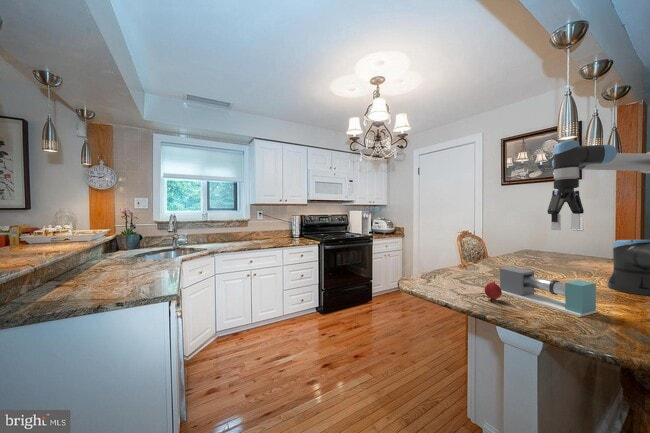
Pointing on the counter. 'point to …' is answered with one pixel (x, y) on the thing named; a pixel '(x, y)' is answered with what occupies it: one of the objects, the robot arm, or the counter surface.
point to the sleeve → (515, 281)
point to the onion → (493, 290)
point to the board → (547, 302)
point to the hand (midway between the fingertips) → (565, 229)
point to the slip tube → (545, 285)
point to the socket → (580, 296)
